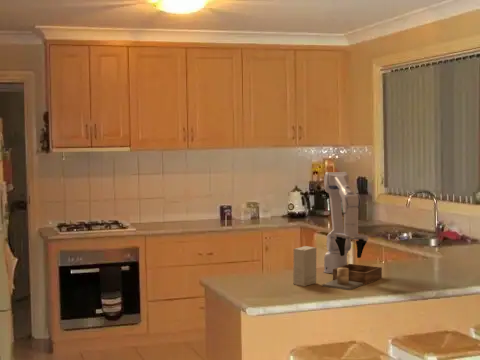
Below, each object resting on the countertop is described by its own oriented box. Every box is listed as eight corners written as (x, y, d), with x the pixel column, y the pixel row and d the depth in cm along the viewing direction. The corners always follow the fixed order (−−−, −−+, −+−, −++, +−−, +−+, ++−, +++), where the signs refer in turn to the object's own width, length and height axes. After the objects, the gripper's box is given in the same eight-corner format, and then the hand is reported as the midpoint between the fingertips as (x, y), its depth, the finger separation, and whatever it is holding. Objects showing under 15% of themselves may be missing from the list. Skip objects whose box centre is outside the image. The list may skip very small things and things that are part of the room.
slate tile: (322, 286, 292) (322, 284, 292) (336, 281, 302) (336, 279, 302) (349, 290, 285) (349, 287, 285) (363, 284, 295) (363, 282, 295)
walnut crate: (332, 279, 304) (332, 269, 304) (349, 274, 317) (349, 263, 316) (365, 284, 296) (366, 273, 295) (381, 278, 308) (381, 267, 308)
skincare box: (305, 281, 302) (305, 245, 301) (317, 283, 298) (317, 247, 297) (292, 284, 296) (292, 247, 295) (304, 286, 292) (304, 249, 291)
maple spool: (335, 283, 293) (335, 269, 292) (340, 281, 296) (340, 267, 296) (345, 285, 290) (345, 270, 290) (350, 282, 294) (350, 268, 294)
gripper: (330, 223, 301) (330, 256, 302) (362, 226, 292) (362, 259, 293) (338, 221, 307) (338, 253, 308) (370, 224, 298) (370, 257, 299)
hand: (350, 256), depth 301 cm, fingers open, 7 cm apart
